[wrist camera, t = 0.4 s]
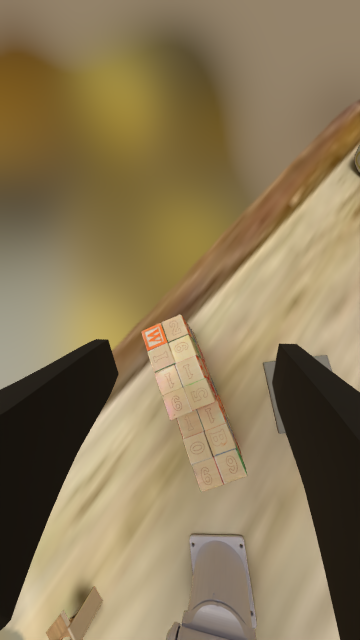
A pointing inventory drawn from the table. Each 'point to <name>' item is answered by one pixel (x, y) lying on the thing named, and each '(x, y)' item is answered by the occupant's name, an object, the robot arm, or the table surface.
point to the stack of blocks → (194, 403)
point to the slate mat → (269, 373)
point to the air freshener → (357, 158)
